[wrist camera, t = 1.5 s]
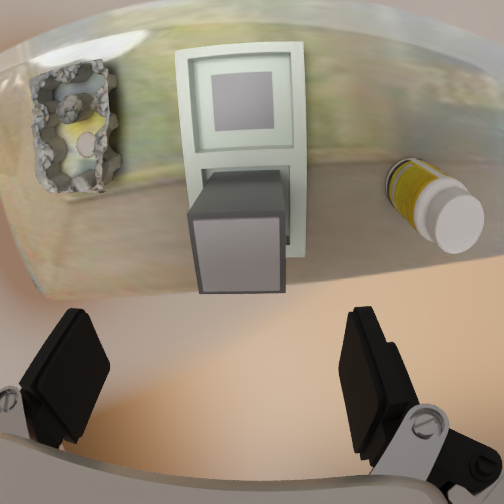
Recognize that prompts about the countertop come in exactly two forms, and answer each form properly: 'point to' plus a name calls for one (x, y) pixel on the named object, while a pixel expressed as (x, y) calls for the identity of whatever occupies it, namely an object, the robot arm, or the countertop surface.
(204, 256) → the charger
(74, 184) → the egg carton
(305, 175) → the power strip
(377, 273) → the countertop surface
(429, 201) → the supplement bottle
